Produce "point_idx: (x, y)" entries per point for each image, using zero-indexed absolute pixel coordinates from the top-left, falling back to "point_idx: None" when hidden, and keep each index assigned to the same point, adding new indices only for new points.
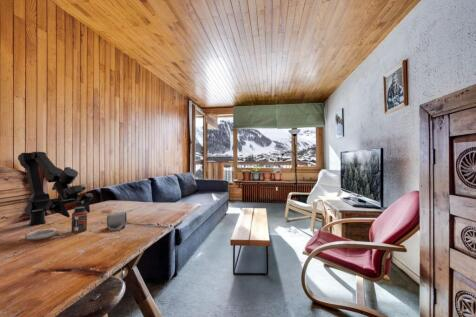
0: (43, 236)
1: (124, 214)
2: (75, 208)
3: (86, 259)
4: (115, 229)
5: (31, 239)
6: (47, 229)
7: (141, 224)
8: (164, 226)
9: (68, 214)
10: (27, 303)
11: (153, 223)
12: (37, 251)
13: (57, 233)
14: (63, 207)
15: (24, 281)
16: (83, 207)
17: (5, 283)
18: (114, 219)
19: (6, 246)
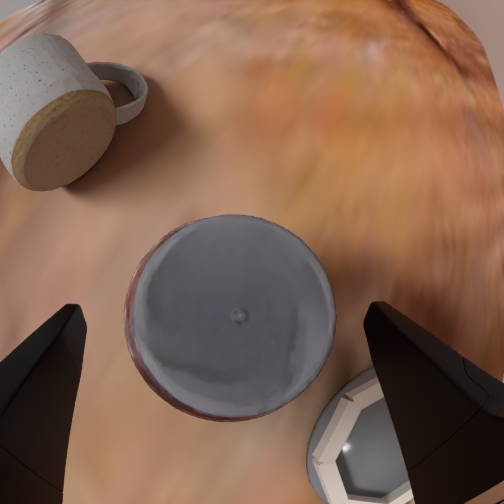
0: None
1: (45, 34)
2: (335, 310)
3: (384, 18)
4: (138, 77)
5: None
6: (347, 498)
7: None
8: (56, 2)
9: (395, 313)
10: (465, 29)
11: None
12: (469, 193)
13: (342, 391)
14: (491, 394)
15: (478, 69)
16: (204, 225)
17: (498, 94)
18: (90, 70)
19: None
